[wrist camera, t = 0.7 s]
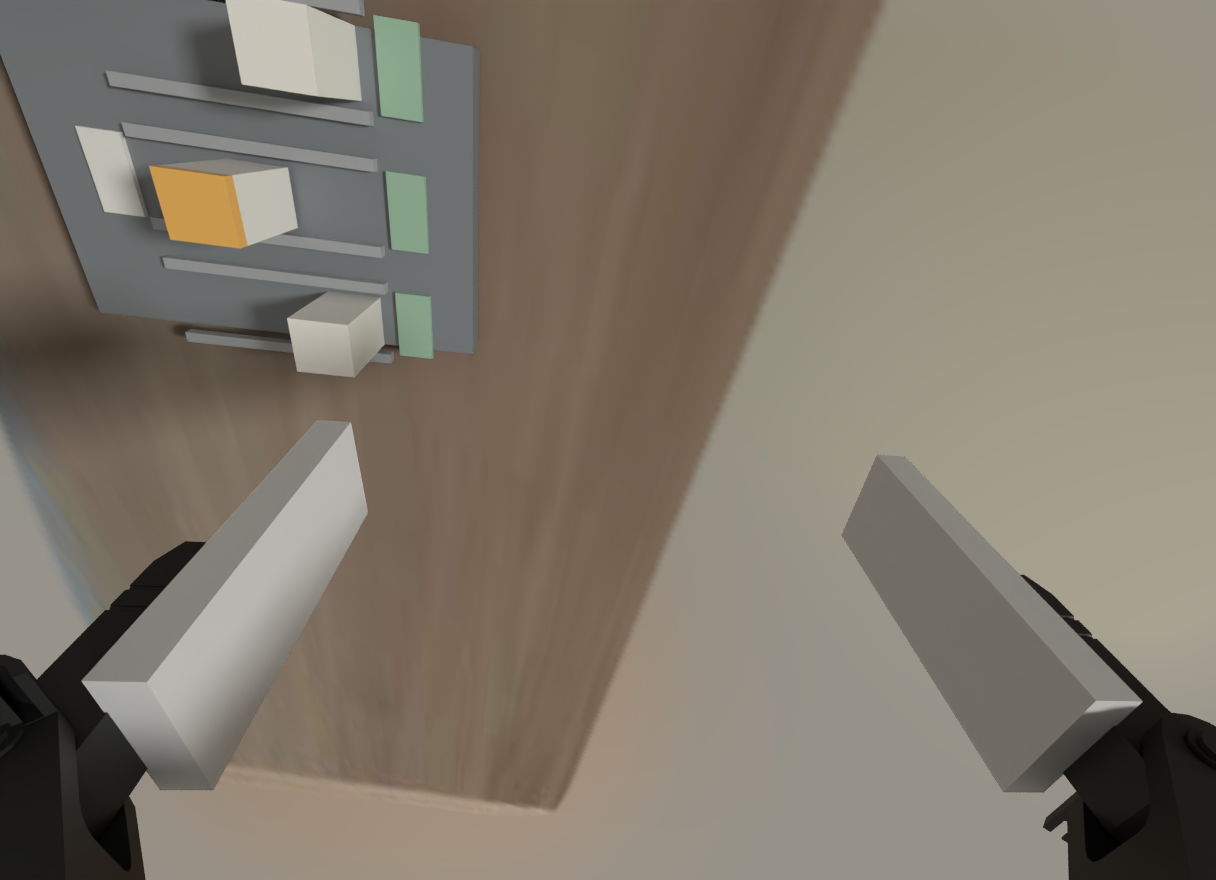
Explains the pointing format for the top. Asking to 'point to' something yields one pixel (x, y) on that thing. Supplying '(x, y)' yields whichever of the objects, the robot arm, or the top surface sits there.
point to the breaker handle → (224, 201)
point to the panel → (268, 134)
